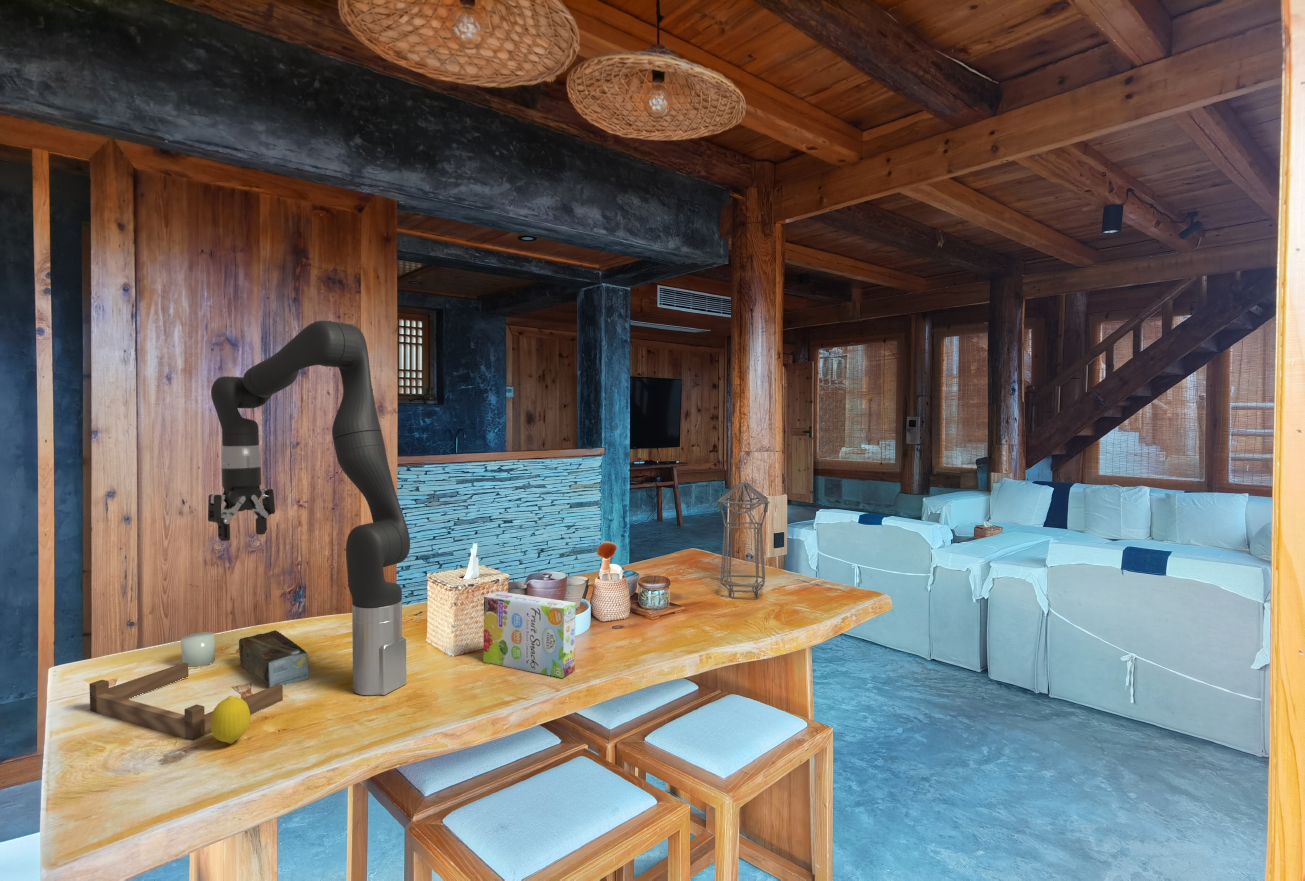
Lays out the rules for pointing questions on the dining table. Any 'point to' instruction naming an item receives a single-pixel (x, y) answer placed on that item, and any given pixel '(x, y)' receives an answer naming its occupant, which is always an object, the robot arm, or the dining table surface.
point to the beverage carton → (273, 659)
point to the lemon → (230, 719)
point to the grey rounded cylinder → (198, 649)
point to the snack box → (530, 633)
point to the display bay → (160, 719)
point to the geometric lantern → (763, 501)
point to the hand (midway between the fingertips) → (243, 537)
